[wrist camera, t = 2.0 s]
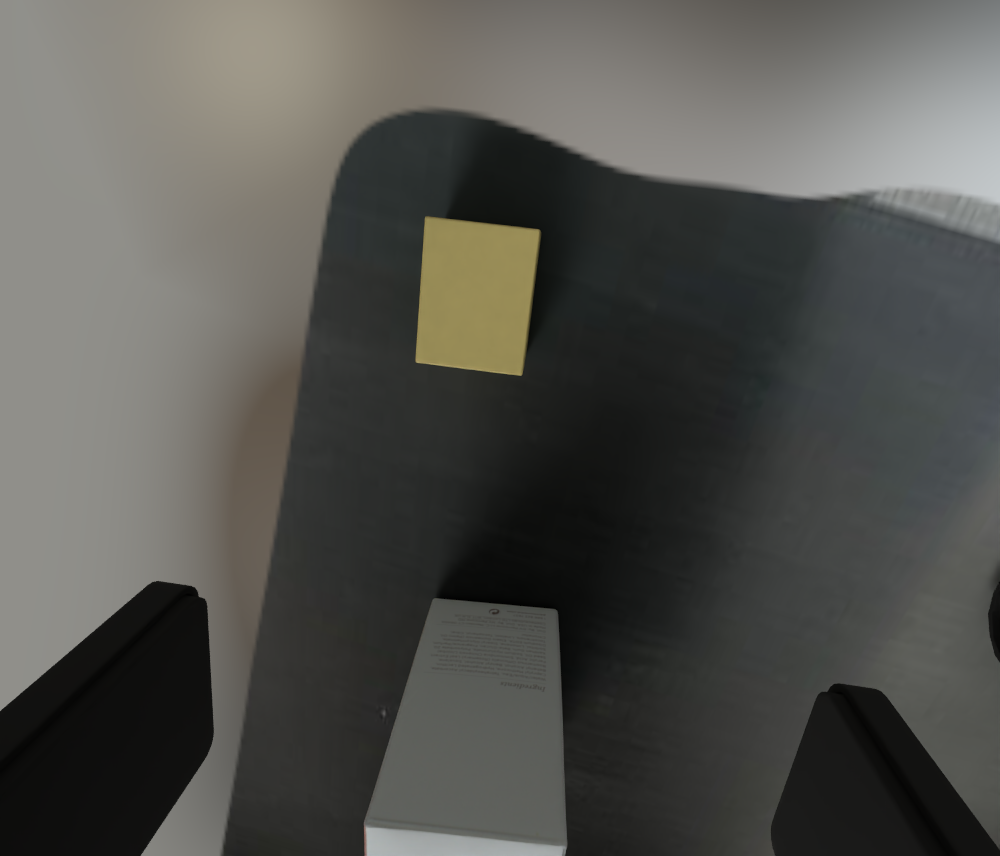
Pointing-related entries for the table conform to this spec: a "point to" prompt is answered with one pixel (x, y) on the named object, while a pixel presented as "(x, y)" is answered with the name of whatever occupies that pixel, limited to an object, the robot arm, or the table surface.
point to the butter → (476, 295)
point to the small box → (476, 740)
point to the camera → (995, 621)
